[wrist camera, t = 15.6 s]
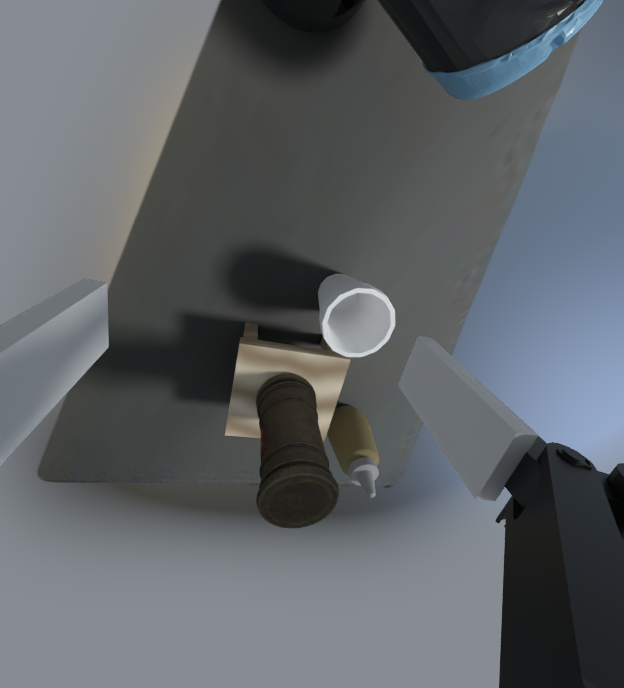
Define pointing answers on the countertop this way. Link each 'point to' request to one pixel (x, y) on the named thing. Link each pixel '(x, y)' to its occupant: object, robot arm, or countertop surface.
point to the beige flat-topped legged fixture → (278, 358)
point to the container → (292, 455)
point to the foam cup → (354, 316)
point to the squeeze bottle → (354, 447)
